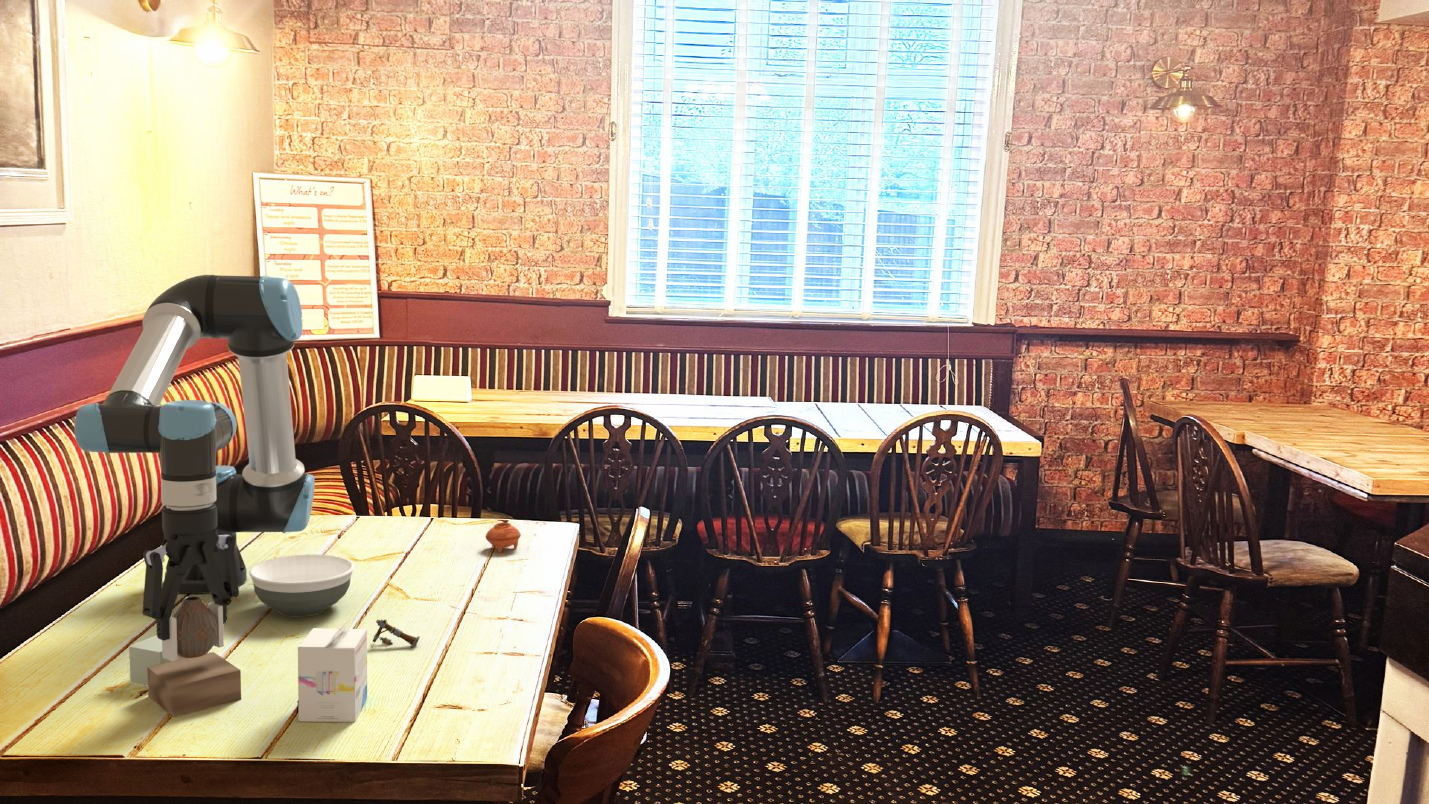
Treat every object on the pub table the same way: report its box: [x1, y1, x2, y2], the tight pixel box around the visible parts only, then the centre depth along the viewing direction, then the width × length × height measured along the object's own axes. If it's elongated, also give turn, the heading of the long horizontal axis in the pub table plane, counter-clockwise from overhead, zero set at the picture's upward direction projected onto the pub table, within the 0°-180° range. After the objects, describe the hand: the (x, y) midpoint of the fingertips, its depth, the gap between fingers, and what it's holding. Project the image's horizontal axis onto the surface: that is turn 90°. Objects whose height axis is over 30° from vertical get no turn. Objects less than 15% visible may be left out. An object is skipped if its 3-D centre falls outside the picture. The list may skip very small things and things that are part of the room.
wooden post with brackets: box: [372, 619, 421, 649], centre depth 200 cm, size 2×8×4 cm, turn 85°
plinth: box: [147, 651, 242, 718], centre depth 175 cm, size 10×10×5 cm
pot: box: [485, 521, 522, 554], centre depth 262 cm, size 8×8×7 cm
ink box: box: [297, 618, 368, 723], centre depth 171 cm, size 9×8×13 cm
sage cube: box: [128, 634, 185, 687], centre depth 181 cm, size 6×6×6 cm
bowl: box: [249, 554, 355, 618], centre depth 216 cm, size 19×19×8 cm
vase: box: [171, 595, 217, 658], centre depth 173 cm, size 7×7×9 cm
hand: (193, 651), depth 174 cm, fingers closed on vase, 7 cm apart
